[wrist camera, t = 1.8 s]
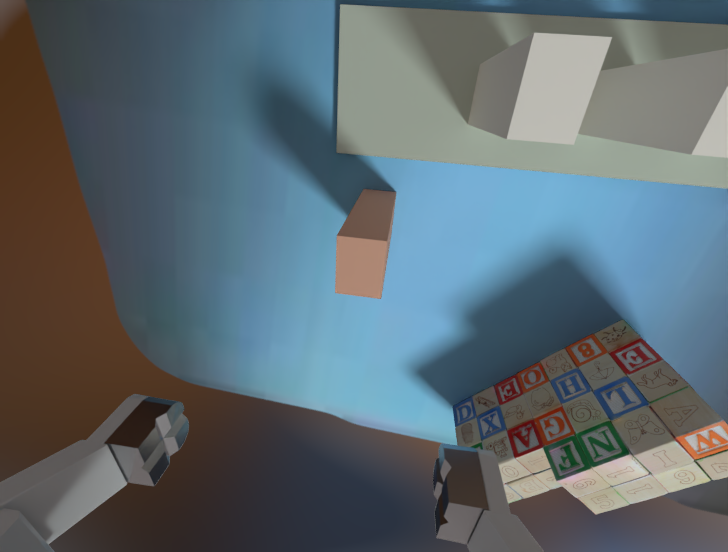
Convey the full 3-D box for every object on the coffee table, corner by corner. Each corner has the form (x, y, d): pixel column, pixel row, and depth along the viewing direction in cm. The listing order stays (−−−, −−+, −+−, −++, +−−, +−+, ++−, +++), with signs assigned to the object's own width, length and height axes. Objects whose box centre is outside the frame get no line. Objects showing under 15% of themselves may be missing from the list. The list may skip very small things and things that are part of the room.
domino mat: (969, 39, 20) (984, 38, 20) (843, 198, 25) (853, 199, 24) (341, 6, 23) (340, 4, 23) (337, 151, 28) (336, 152, 28)
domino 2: (522, 66, 23) (612, 37, 13) (506, 127, 25) (573, 144, 15) (479, 64, 23) (534, 32, 13) (467, 124, 25) (506, 139, 15)
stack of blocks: (481, 431, 43) (504, 541, 32) (451, 404, 41) (465, 511, 30) (653, 353, 34) (765, 470, 23) (623, 316, 32) (729, 423, 21)
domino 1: (396, 192, 29) (387, 241, 19) (391, 233, 31) (380, 298, 21) (363, 188, 29) (337, 235, 19) (361, 229, 31) (335, 293, 21)
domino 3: (639, 74, 23) (835, 49, 12) (614, 136, 24) (765, 160, 14) (594, 71, 23) (749, 45, 12) (573, 133, 25) (691, 154, 14)
